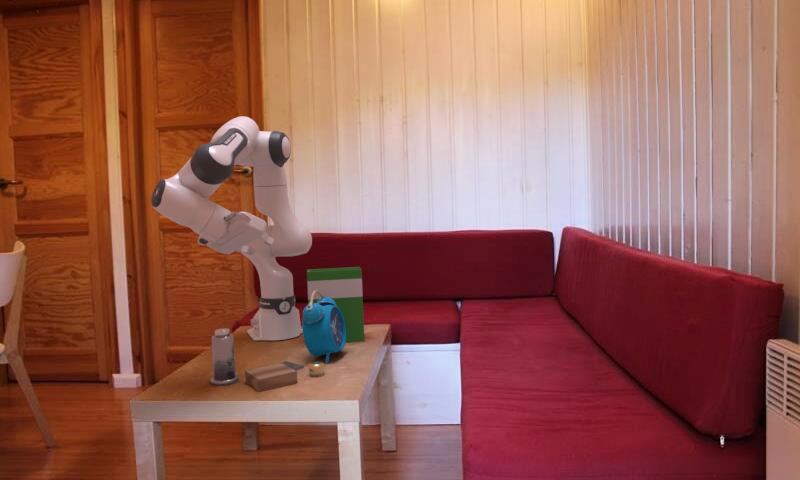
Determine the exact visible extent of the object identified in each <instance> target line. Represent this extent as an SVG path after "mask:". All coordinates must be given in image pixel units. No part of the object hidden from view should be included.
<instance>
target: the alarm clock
mask: <svg viewBox="0 0 800 480" xmlns="http://www.w3.org/2000/svg"><path fill="white" fill-rule="evenodd" d="M315 292H317V293H318V294H319V295H320V296H321V297H323V298H321V299H319V300H318V301H317V303H313V297H314V294H315ZM301 323H302V325H301V328H302V329H303V333H302V336H303V341H304V344H305V347H306V349H307V351H308V352H309V354H310V355H311V356H312V357H322V356H326V357H325V363H326V364H329V361H330V354H333V353H335V354H336V353H341V352H342V350H343V349H344V348H345V347H346V343H345V342H346V328H345V322H344V318H343V315H342V313H341V311H340V309H339V308H338V307H337V306H336V303H335V301H334V300H333V299H331V298H329V297H327V296H323V295H322V294H321V293H320V292H319V291H317V290H315V291H313V293H312V295H311V300H310V303H309V305H308V304H307V305H306V306H305V307H304V309H303V310H302V322H301Z"/></svg>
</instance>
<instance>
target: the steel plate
mask: <svg viewBox="0 0 800 480" xmlns="http://www.w3.org/2000/svg"><path fill="white" fill-rule="evenodd" d="M281 363H282V364H284V365H286V366H288V367H290V368H292V369H294V370H295V371H299V370H303V369H304V367H305V366H304V365H303V364H298V363H294V362H290V361H282V362H281Z"/></svg>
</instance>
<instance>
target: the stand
mask: <svg viewBox="0 0 800 480" xmlns="http://www.w3.org/2000/svg"><path fill="white" fill-rule="evenodd" d="M244 378H245V383H246V384H248V385H249V386H250V387H252V388H254V389H255V390H257V391H258V392H259V393H260V392H264V391H268V390H272V389H273V390H274V389H276V388H281V387H286V386H290V385H295V384H298V370H296V371H295V370H294V369H292V368H290V367H288V366H286V365H284V364H282V362H280V363H279V362H278V363H274V364H268V365H265V366H259V367H255V368H249V369H245V370H244Z"/></svg>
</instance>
